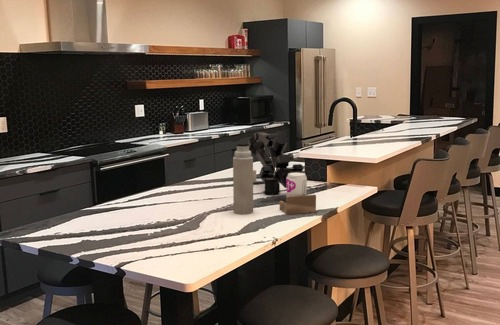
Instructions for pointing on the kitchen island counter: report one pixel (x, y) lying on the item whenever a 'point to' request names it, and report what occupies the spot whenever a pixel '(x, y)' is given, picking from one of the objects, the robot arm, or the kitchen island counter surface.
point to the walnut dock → (299, 204)
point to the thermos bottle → (243, 180)
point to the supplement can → (296, 184)
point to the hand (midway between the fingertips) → (286, 187)
